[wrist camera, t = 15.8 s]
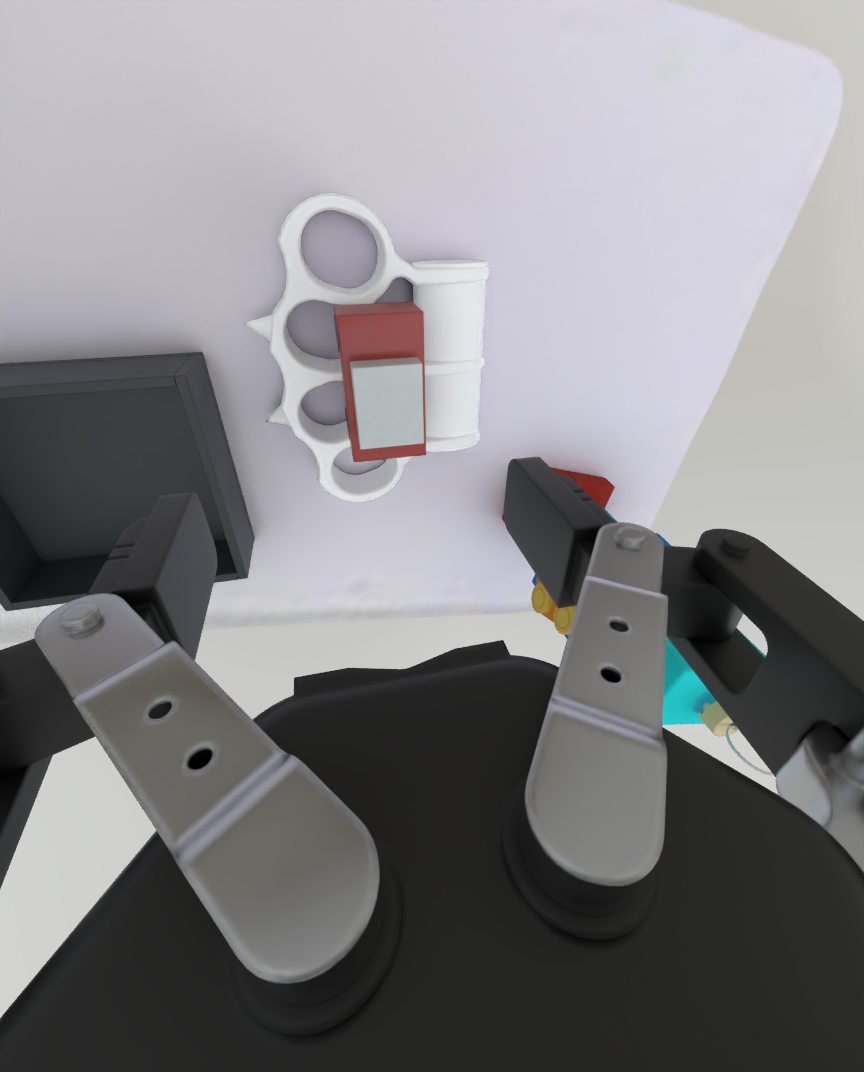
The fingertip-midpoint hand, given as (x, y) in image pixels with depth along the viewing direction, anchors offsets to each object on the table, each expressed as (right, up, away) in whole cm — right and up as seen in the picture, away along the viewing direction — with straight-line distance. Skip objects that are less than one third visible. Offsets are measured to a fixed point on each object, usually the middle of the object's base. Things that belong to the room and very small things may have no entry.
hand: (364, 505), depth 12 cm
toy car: (-2, +9, +16) cm, 19 cm away
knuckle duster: (-2, +11, +19) cm, 22 cm away
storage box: (-20, +4, +19) cm, 28 cm away
